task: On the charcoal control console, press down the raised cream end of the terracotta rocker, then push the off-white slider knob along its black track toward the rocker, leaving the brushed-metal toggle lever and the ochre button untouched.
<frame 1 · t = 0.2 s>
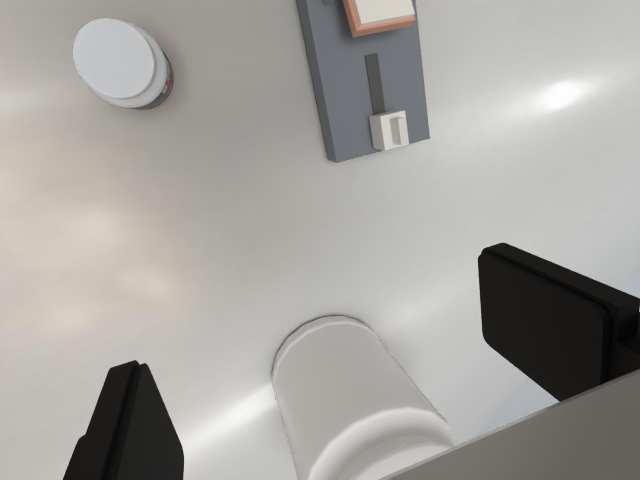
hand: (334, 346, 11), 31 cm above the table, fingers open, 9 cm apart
slider: (392, 130, 36), point 5 cm above the table, slide at 0.0 cm
console: (350, 9, 37), on the table
pill bottle: (138, 74, 34), on the table
bottle: (326, 364, 48), on the table
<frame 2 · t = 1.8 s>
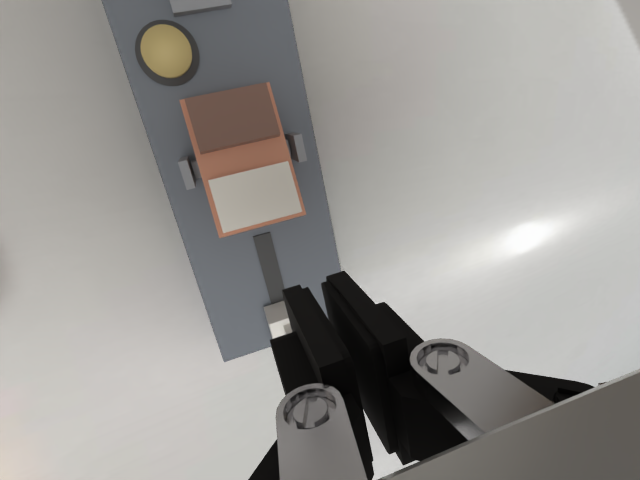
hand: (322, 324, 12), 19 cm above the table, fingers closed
slider: (290, 333, 27), point 5 cm above the table, slide at 0.0 cm
console: (240, 167, 28), on the table
rocker: (244, 159, 23), point 5 cm above the table, hinge at -18.0°
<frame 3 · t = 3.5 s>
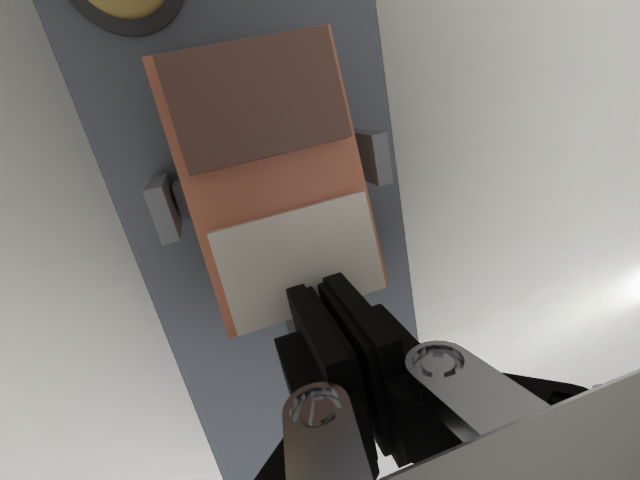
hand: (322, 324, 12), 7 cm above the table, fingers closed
slider: (345, 471, 16), point 5 cm above the table, slide at 0.0 cm
console: (259, 186, 17), on the table
rocker: (277, 184, 12), point 5 cm above the table, hinge at -10.5°, touching gripper
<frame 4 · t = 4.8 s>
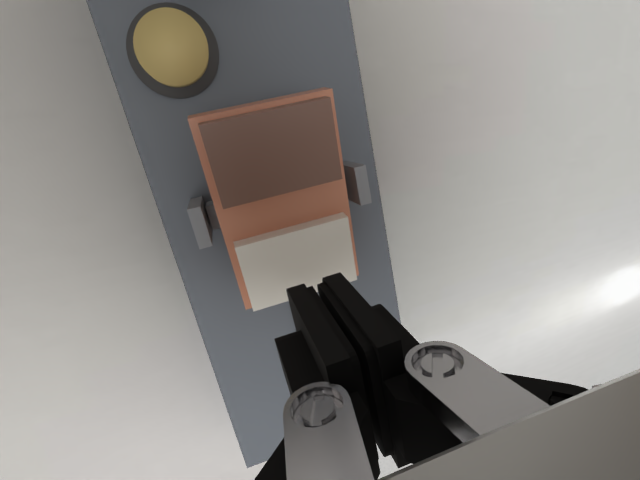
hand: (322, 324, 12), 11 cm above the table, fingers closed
console: (271, 205, 21), on the table
rocker: (284, 206, 16), point 5 cm above the table, hinge at 8.4°
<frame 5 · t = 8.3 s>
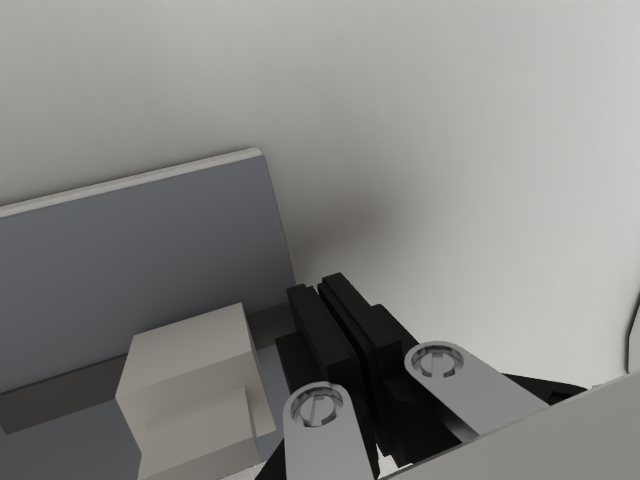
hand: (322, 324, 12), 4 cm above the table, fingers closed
slider: (201, 400, 10), point 5 cm above the table, slide at 1.2 cm, touching gripper
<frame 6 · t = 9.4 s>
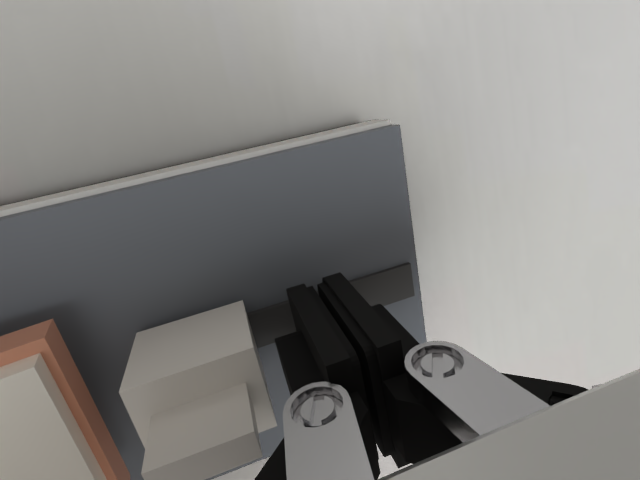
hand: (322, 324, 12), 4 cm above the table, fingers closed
slider: (203, 396, 10), point 5 cm above the table, slide at 5.3 cm, touching gripper
console: (35, 353, 14), on the table
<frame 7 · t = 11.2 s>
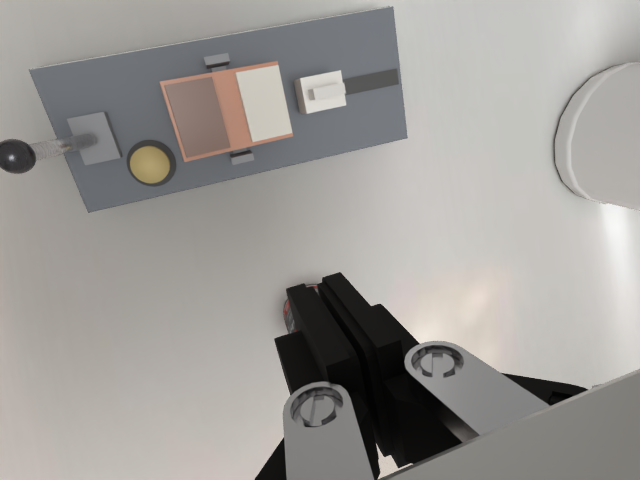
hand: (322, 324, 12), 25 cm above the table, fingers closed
lever: (36, 151, 23), point 9 cm above the table, hinge at -20.0°
slider: (322, 92, 29), point 5 cm above the table, slide at 5.3 cm
console: (240, 108, 33), on the table
rocker: (231, 111, 28), point 5 cm above the table, hinge at 8.4°
bottle: (605, 135, 43), on the table
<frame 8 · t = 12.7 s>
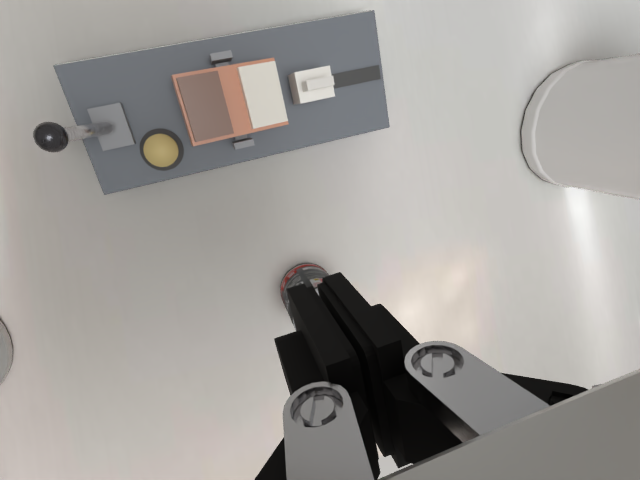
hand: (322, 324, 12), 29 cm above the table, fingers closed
lever: (67, 134, 26), point 9 cm above the table, hinge at -20.0°
slider: (313, 85, 33), point 5 cm above the table, slide at 5.3 cm
console: (239, 101, 37), on the table
pill bottle: (304, 285, 44), on the table
rocker: (233, 101, 31), point 5 cm above the table, hinge at 8.4°
bottle: (565, 125, 47), on the table
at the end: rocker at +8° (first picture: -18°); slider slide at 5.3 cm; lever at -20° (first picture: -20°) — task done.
